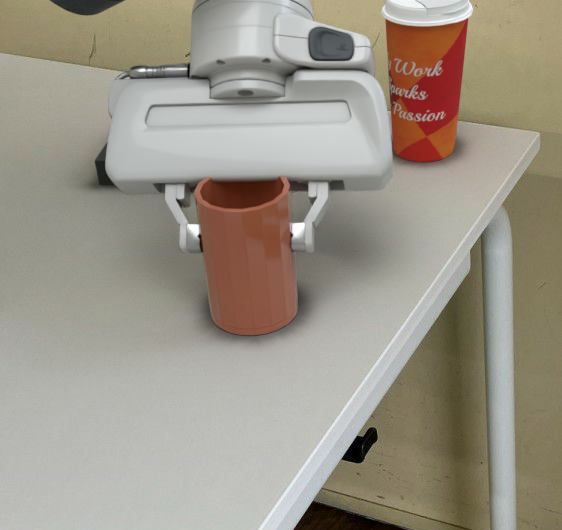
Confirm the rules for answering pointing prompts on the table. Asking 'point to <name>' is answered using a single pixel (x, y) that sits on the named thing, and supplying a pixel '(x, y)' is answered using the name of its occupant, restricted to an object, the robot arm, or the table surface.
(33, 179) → the table surface
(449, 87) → the paper cup
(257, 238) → the cup
